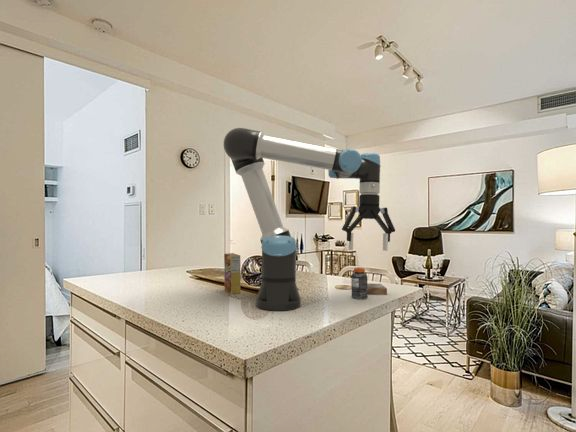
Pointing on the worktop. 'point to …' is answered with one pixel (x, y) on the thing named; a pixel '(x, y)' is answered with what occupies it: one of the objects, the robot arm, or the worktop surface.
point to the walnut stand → (376, 289)
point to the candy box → (232, 273)
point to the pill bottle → (359, 284)
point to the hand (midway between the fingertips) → (368, 250)
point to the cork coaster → (343, 287)
